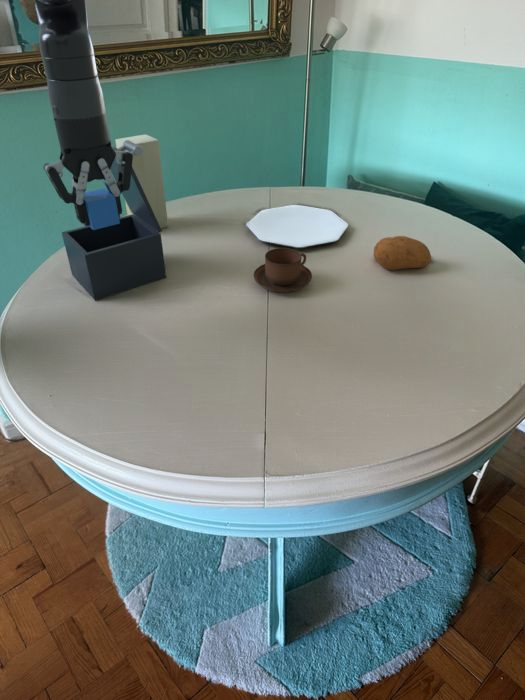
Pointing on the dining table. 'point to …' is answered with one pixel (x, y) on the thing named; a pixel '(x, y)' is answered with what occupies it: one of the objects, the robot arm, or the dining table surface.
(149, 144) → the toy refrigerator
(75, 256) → the box
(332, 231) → the plate
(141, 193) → the freezer lid
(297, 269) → the cup and saucer
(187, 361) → the dining table surface
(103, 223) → the blue cube
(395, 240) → the potato
